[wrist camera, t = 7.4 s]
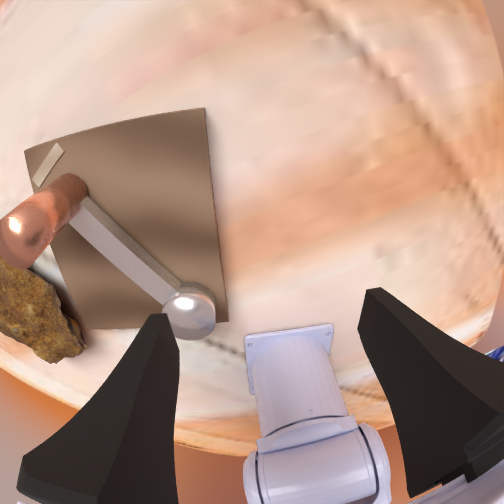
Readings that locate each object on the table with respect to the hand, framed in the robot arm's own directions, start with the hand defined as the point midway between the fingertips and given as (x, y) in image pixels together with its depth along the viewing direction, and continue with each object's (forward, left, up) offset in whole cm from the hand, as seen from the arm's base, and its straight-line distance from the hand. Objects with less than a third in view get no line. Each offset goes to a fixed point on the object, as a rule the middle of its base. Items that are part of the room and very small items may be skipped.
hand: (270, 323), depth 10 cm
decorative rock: (-5, +21, -11) cm, 24 cm away
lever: (-1, +8, -9) cm, 12 cm away
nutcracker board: (-1, +8, -10) cm, 13 cm away
